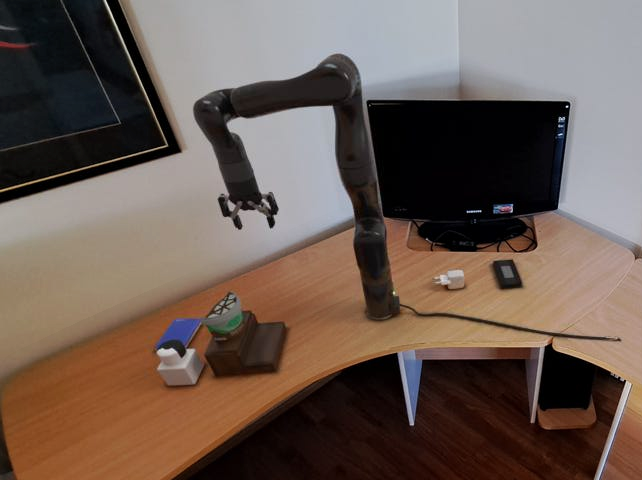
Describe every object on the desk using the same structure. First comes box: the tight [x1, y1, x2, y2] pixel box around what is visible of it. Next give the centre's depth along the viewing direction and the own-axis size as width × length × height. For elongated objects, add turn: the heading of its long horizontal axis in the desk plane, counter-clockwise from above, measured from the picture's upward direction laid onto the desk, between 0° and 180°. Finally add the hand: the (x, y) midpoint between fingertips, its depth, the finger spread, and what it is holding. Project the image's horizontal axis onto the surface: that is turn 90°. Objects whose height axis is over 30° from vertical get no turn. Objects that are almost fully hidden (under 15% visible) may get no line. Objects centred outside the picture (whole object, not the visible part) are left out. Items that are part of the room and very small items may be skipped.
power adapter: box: [431, 269, 465, 290], centre depth 155 cm, size 11×5×6 cm, turn 102°
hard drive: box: [153, 318, 202, 352], centre depth 134 cm, size 2×8×12 cm
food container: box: [199, 290, 246, 342], centre depth 121 cm, size 12×6×10 cm, turn 169°
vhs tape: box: [492, 258, 523, 290], centre depth 162 cm, size 8×14×2 cm, turn 11°
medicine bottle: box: [155, 340, 205, 387], centre depth 120 cm, size 7×7×12 cm
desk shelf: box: [203, 309, 287, 378], centre depth 128 cm, size 16×17×9 cm
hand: (256, 227), depth 127 cm, fingers open, 8 cm apart
